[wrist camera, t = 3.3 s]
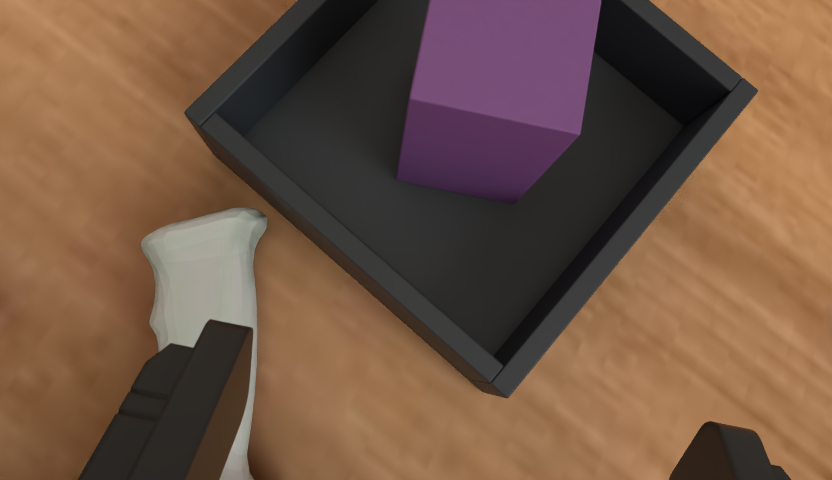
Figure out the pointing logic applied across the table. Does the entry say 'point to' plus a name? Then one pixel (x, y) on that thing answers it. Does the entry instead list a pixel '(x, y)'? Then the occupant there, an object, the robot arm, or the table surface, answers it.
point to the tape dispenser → (208, 292)
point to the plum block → (496, 93)
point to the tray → (453, 212)
